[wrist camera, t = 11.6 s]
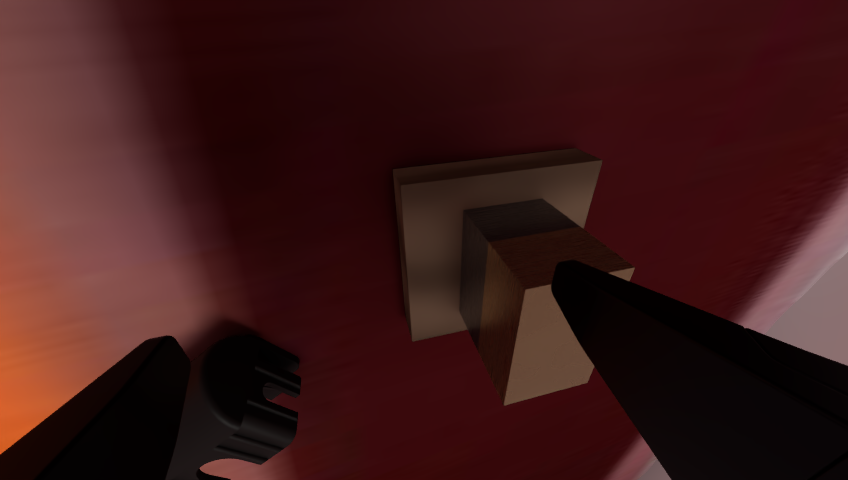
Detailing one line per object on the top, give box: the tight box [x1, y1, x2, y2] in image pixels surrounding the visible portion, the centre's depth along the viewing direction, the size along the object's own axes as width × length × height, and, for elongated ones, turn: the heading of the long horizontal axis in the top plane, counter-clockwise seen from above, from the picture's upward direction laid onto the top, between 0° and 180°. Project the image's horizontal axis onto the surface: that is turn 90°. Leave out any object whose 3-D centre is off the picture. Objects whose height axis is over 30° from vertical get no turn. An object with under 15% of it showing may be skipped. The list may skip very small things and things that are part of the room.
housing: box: [459, 198, 635, 405], centre depth 18 cm, size 5×8×7 cm, turn 2°
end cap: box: [165, 335, 301, 480], centre depth 21 cm, size 10×7×7 cm
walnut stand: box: [393, 148, 602, 342], centre depth 22 cm, size 12×12×2 cm
